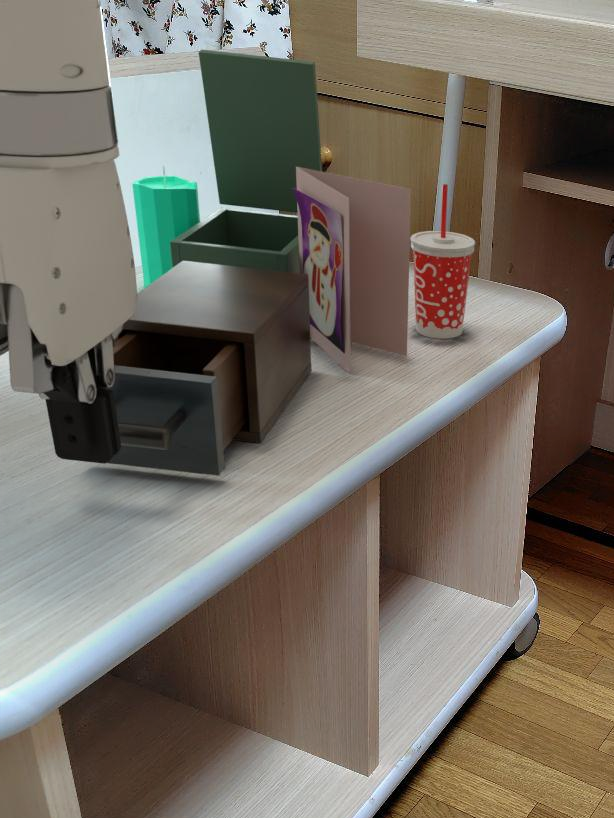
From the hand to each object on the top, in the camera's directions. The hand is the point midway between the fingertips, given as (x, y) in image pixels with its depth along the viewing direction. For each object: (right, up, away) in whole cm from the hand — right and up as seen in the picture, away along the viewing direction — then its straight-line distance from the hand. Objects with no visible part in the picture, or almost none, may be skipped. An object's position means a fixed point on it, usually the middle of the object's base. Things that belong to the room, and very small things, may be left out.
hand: (89, 454), depth 58 cm
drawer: (0, +2, +13) cm, 13 cm away
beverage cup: (+16, +16, +40) cm, 46 cm away
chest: (-2, +18, +41) cm, 44 cm away
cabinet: (+1, +7, +22) cm, 23 cm away
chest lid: (0, +34, +37) cm, 50 cm away
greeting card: (+9, +13, +34) cm, 38 cm away
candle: (-11, +21, +44) cm, 50 cm away
